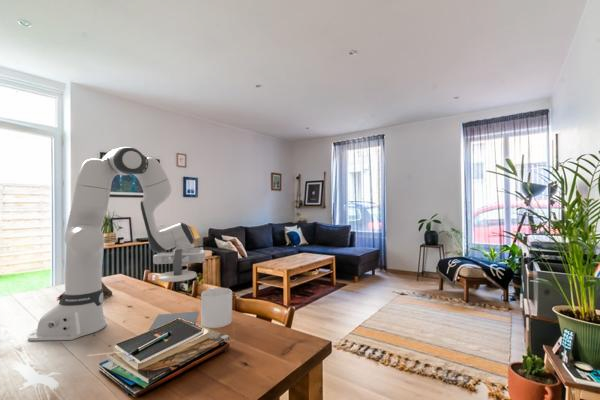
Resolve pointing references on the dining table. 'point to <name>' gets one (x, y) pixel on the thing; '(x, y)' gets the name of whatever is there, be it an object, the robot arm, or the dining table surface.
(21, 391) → the dining table surface
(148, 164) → the robot arm
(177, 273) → the lid
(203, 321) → the cup
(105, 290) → the worn brown figurine
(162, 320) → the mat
